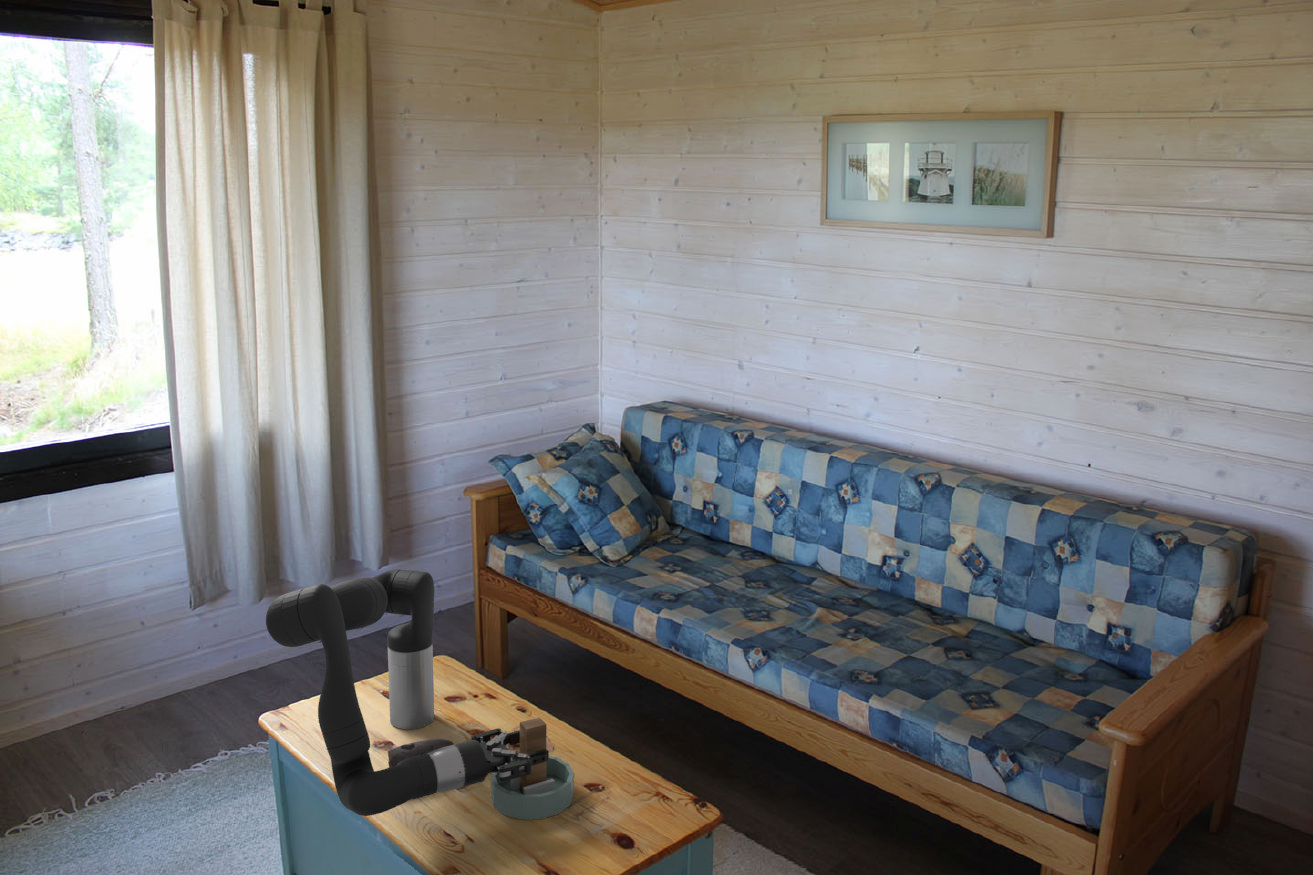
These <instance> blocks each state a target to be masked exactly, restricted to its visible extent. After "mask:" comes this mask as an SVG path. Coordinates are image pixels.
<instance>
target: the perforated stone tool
mask: <svg viewBox="0 0 1313 875" xmlns="http://www.w3.org/2000/svg"><path fill="white" fill-rule="evenodd" d="M451 745H455V743H454V742H453V741H452V740H449V739H445V738H430V739H424V740H418V741H412V742H409V743H406V744H405V743H404V744H401V745H399V746H397V747H395V748H392V749H388V751H387V756H388V768H390V767H394V766H396V765H397V764H398V763H399V762H401V761H402V760H405V759H408V758H411V757H415V756H419V755H422V754H427V753H430V752H432V751H434V750H437V749H440V748H443V747H447V746H451Z"/></svg>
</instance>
